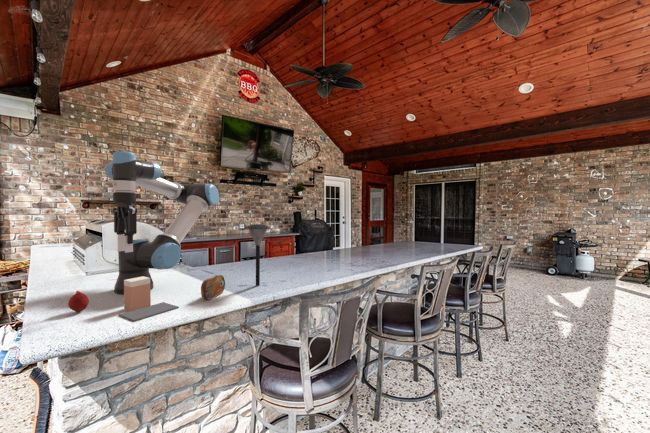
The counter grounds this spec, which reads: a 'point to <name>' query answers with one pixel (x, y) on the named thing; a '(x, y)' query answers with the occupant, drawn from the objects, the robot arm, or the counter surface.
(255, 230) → the solar garden light
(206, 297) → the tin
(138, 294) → the terracotta block
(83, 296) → the onion
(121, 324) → the counter surface
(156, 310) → the mat
